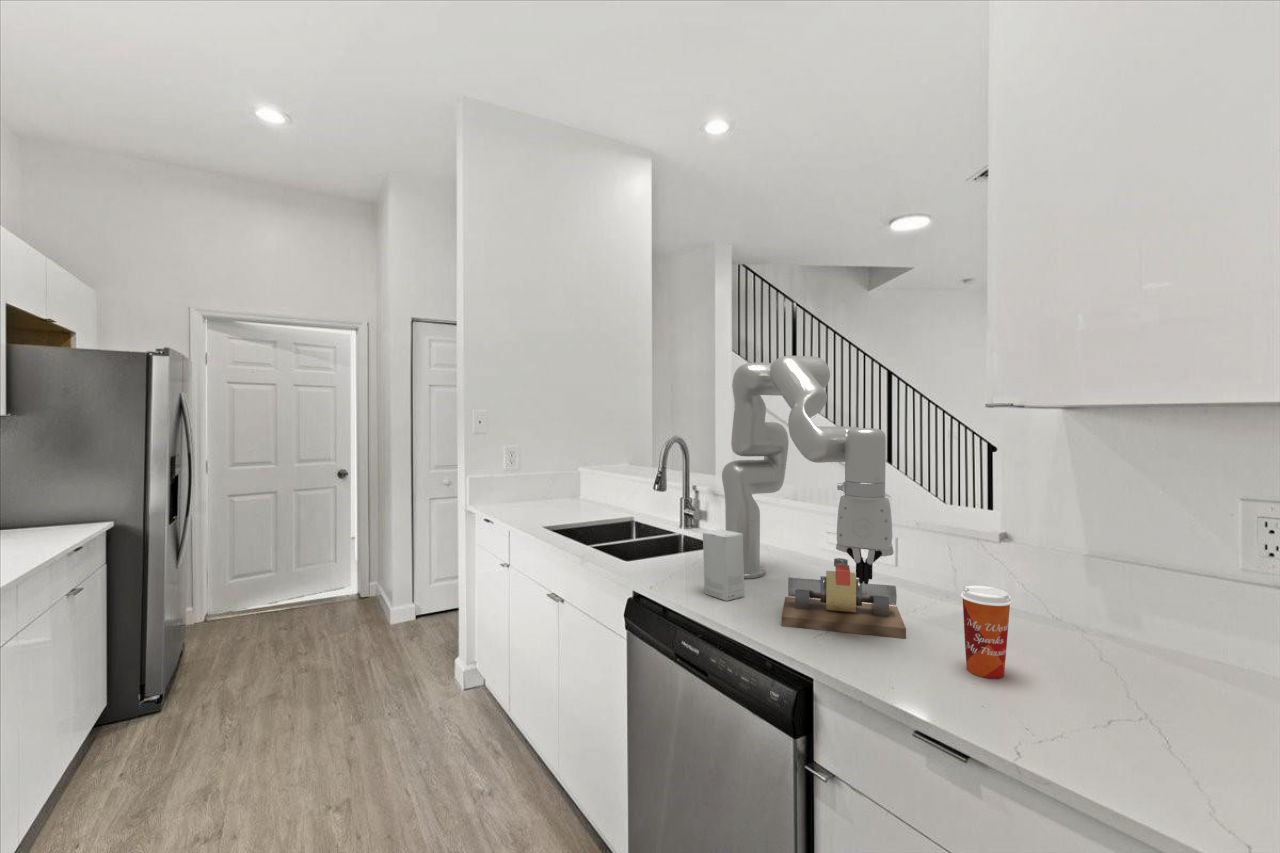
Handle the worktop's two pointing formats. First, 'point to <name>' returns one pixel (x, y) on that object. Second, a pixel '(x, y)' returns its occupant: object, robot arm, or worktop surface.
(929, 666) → the worktop surface
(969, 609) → the paper cup
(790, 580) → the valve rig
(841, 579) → the valve lever
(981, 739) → the worktop surface
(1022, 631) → the worktop surface
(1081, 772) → the worktop surface
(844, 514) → the robot arm
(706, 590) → the skincare box
